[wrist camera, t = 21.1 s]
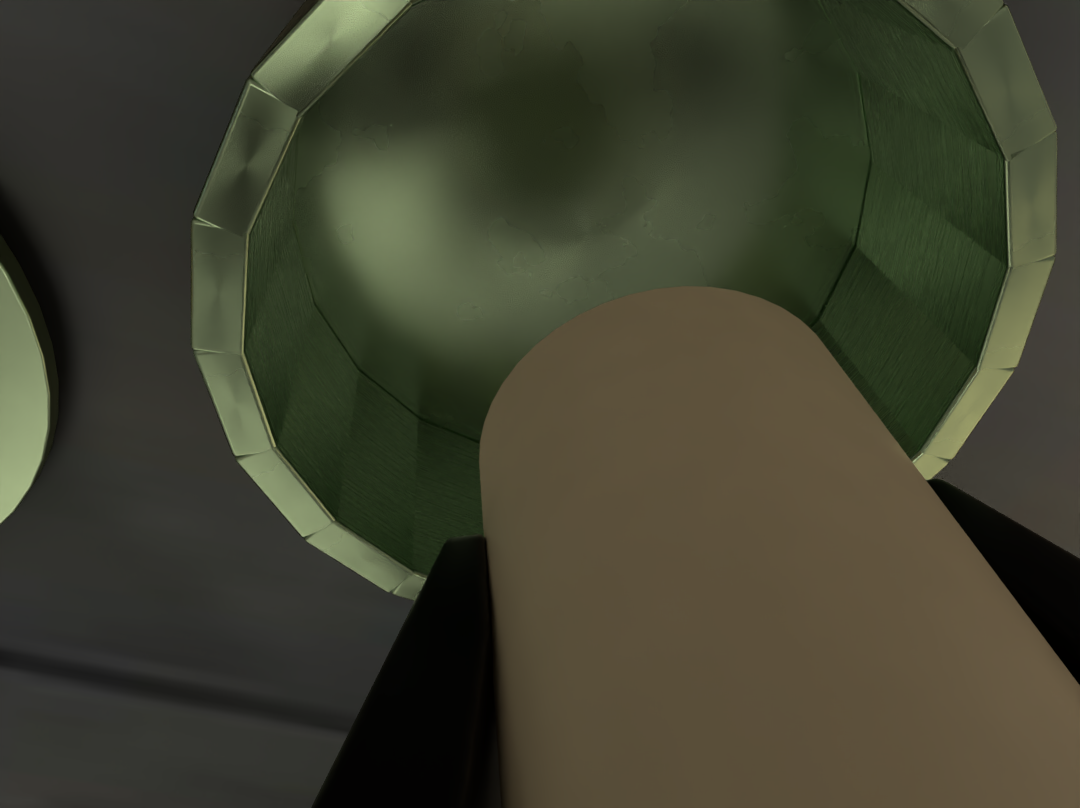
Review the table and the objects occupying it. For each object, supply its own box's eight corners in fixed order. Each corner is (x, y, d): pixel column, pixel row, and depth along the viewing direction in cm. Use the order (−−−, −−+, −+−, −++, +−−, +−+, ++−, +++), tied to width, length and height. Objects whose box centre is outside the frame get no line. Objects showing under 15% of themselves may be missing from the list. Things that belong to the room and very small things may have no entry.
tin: (920, 347, 18) (1056, 495, 14) (440, 524, 20) (440, 701, 16) (840, -317, 11) (1065, -396, 7) (109, 46, 13) (-40, 146, 9)
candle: (864, 504, 11) (1313, 1214, 5) (557, 610, 12) (669, 1345, 6) (805, 217, 8) (1571, 1026, 3) (413, 376, 9) (370, 1292, 3)
